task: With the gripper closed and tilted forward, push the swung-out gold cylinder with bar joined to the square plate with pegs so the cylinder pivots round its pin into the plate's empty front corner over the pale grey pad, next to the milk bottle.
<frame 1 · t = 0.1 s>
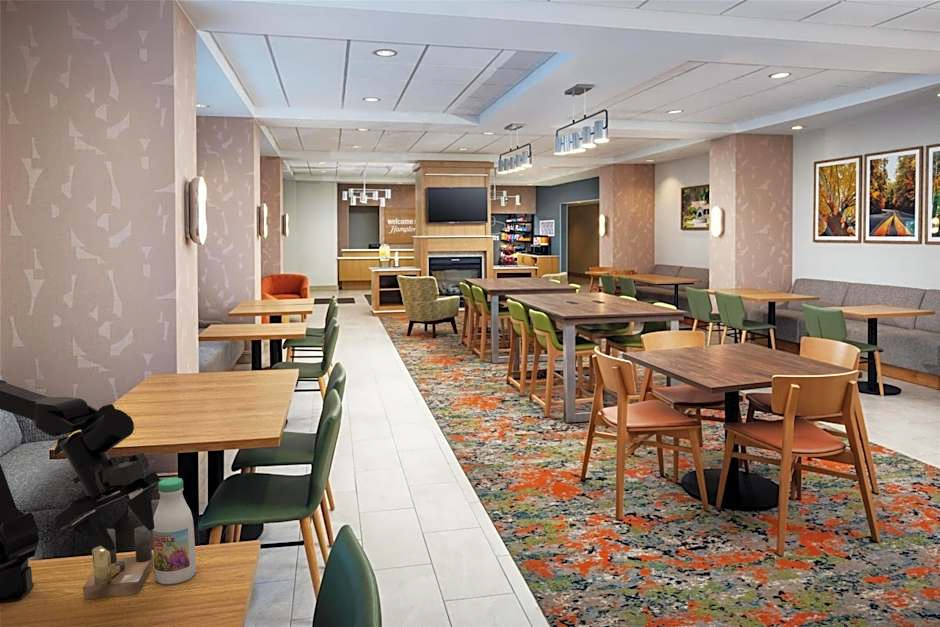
hand: (133, 539, 125), 15 cm above the table, tool tilted 35°, fingers open, 9 cm apart
milk bottle: (175, 577, 143), on the table
gold cylinder with bar: (106, 561, 136), point 6 cm above the table, hinge at -52.7°
square plate with pegs: (120, 582, 141), on the table
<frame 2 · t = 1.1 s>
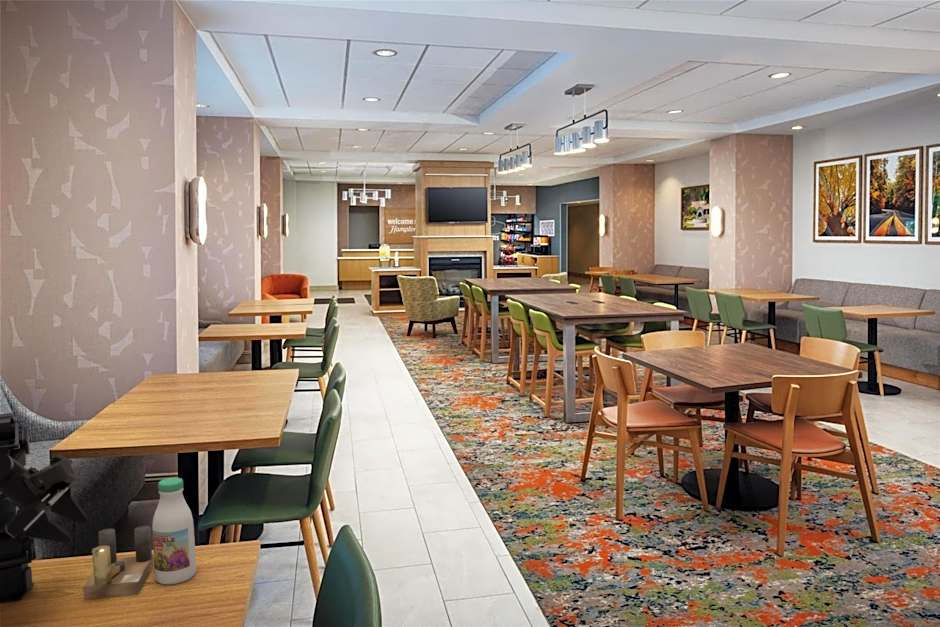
hand: (78, 531, 134), 13 cm above the table, tool tilted 45°, fingers open, 9 cm apart
nothing on the table moved.
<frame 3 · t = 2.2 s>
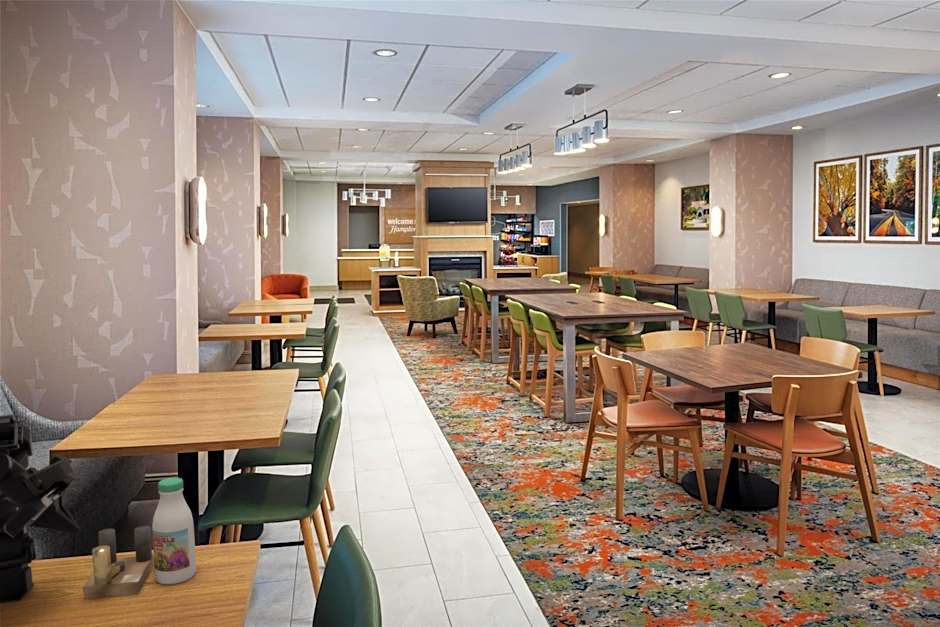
hand: (77, 531, 133), 13 cm above the table, tool tilted 45°, fingers closed
nothing on the table moved.
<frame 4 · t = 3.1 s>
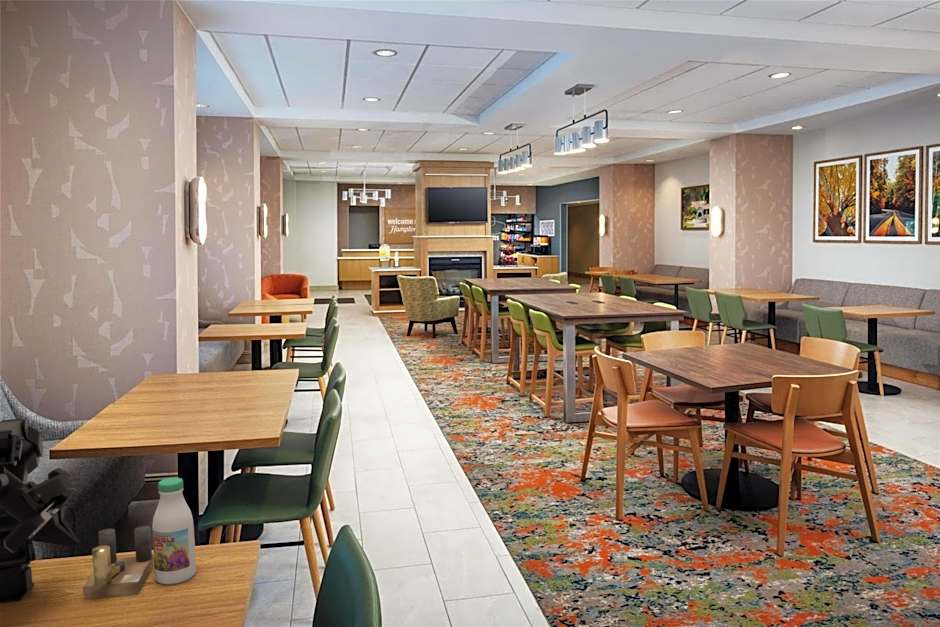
hand: (77, 544, 134), 10 cm above the table, tool tilted 45°, fingers closed
nothing on the table moved.
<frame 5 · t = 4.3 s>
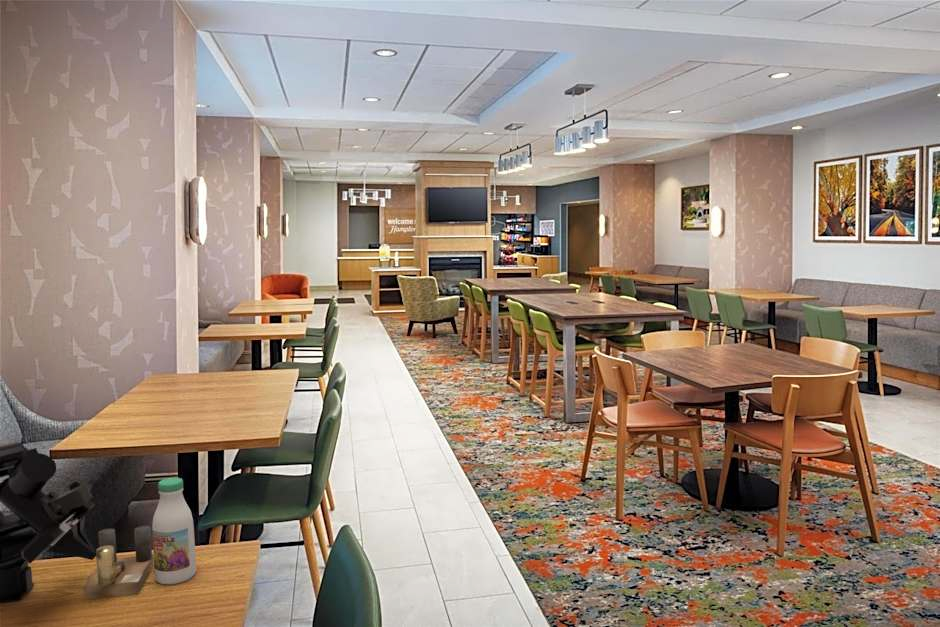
hand: (95, 557, 134), 8 cm above the table, tool tilted 45°, fingers closed, pressing on gold cylinder with bar
gold cylinder with bar: (109, 561, 136), point 6 cm above the table, hinge at -45.1°, touching gripper
everything else where it was.
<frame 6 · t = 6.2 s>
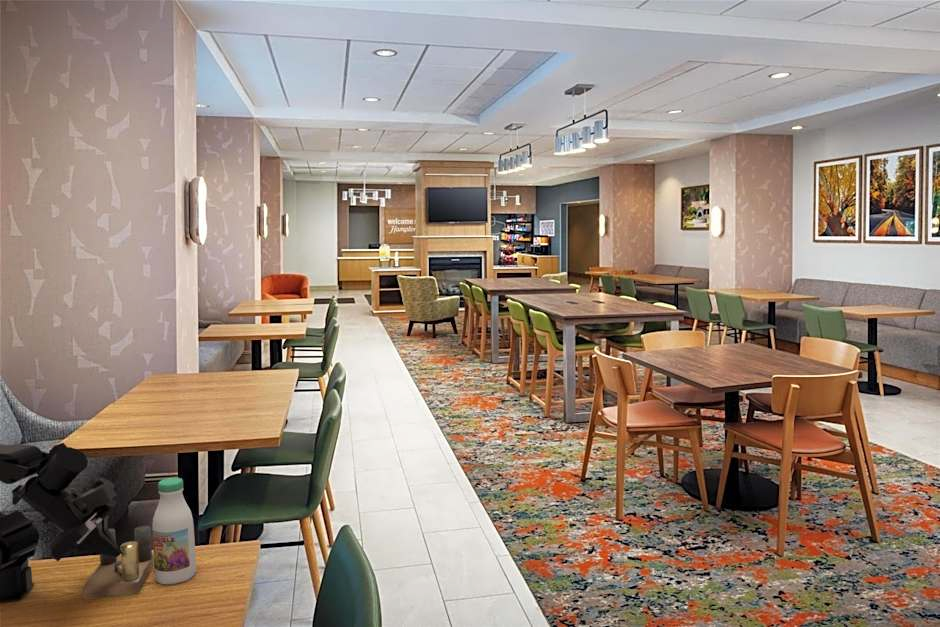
hand: (119, 554, 135), 8 cm above the table, tool tilted 45°, fingers closed
gold cylinder with bar: (127, 558, 137), point 6 cm above the table, hinge at -1.2°, touching gripper
everything else where it was.
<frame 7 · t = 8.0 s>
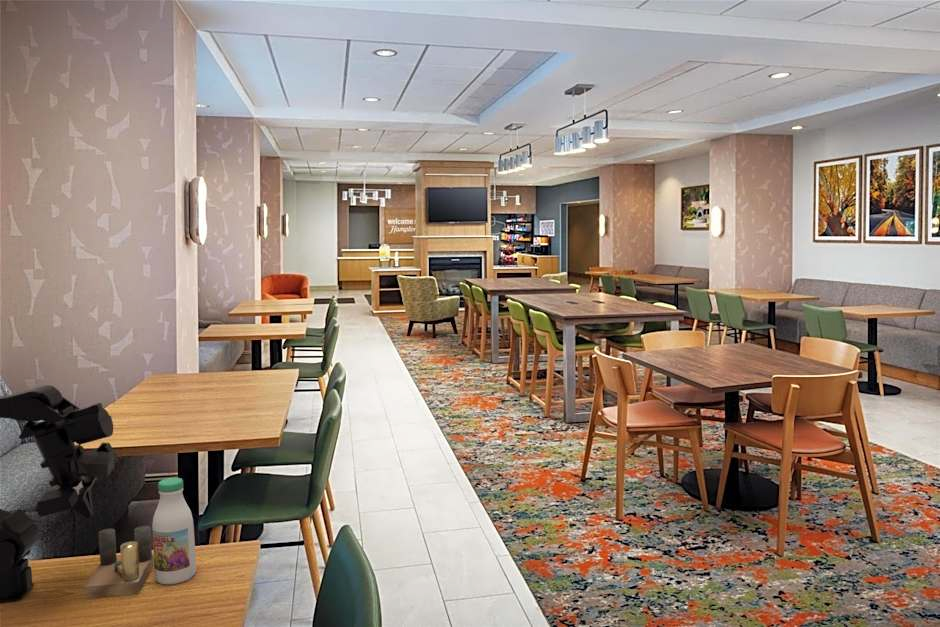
hand: (89, 516, 141), 13 cm above the table, tool tilted 20°, fingers closed
gold cylinder with bar: (127, 558, 137), point 6 cm above the table, hinge at -1.2°
everything else where it was.
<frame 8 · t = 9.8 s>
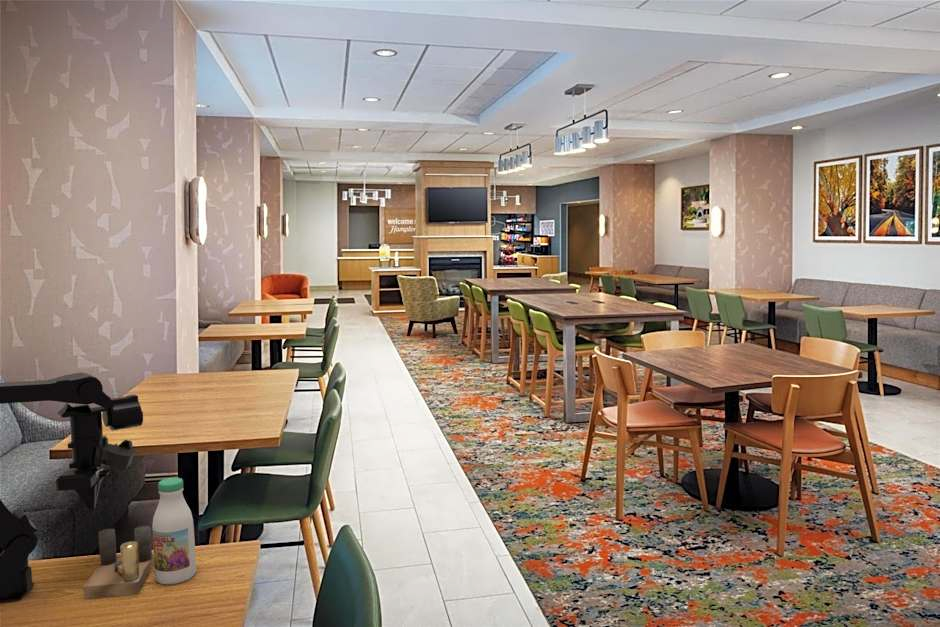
hand: (91, 509, 145), 13 cm above the table, tool pointing down, fingers closed
nothing on the table moved.
at the end: gold cylinder with bar at -1° (first picture: -53°) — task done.
